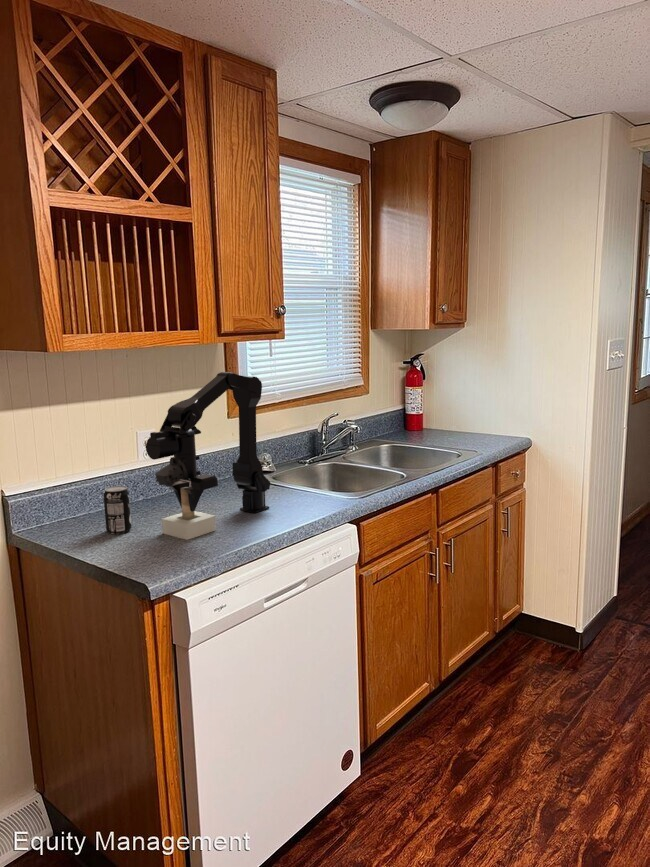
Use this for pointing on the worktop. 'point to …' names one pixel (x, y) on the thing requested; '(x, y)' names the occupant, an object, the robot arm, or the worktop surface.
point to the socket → (188, 525)
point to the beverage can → (117, 509)
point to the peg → (186, 505)
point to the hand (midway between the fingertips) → (188, 510)
